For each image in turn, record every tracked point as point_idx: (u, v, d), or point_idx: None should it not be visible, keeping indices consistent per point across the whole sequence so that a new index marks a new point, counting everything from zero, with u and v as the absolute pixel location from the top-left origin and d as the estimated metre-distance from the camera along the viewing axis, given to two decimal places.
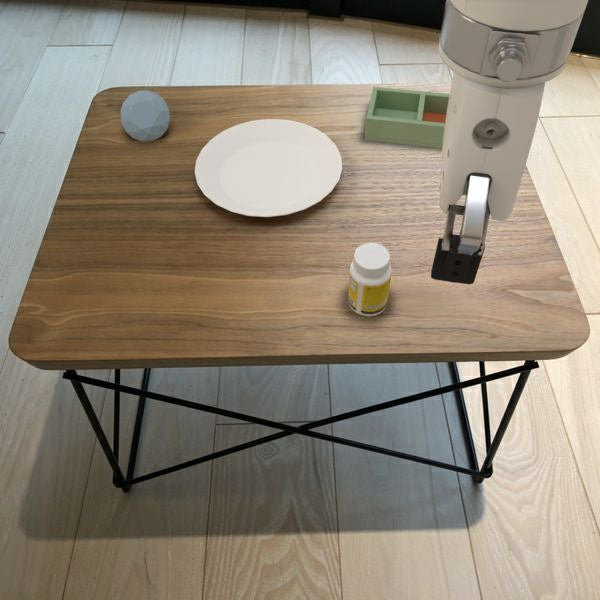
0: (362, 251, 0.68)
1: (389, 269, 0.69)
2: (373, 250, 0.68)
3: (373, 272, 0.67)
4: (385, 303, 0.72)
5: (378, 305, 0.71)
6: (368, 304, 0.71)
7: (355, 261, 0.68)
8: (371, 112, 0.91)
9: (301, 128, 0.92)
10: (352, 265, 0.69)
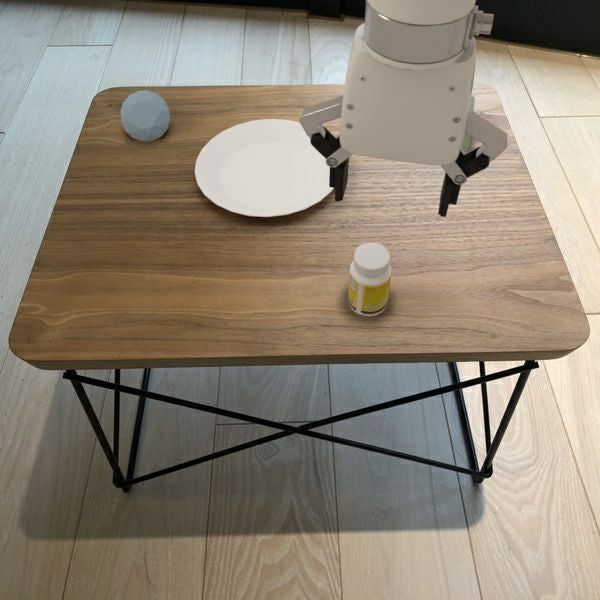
0: (362, 251, 0.68)
1: (389, 269, 0.69)
2: (373, 250, 0.68)
3: (373, 272, 0.67)
4: (385, 303, 0.72)
5: (378, 305, 0.71)
6: (368, 304, 0.71)
7: (355, 261, 0.68)
8: None
9: (301, 128, 0.92)
10: (352, 265, 0.69)
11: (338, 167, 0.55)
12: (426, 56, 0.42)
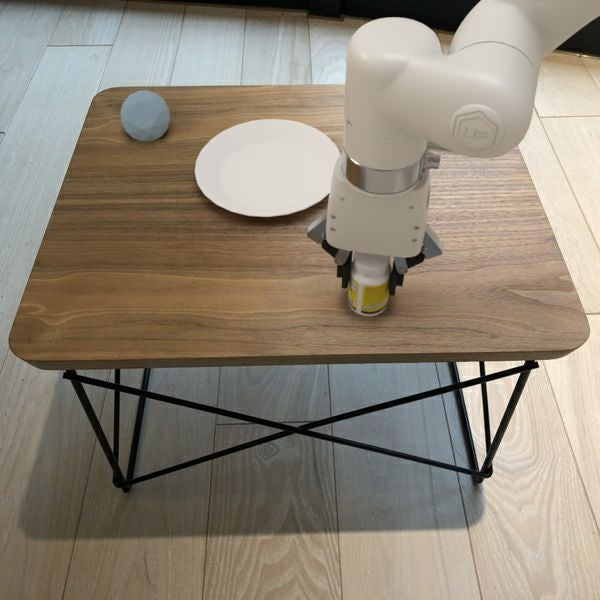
0: None
1: (389, 269, 0.69)
2: None
3: (373, 272, 0.67)
4: (385, 303, 0.72)
5: (378, 305, 0.71)
6: (368, 304, 0.71)
7: (355, 261, 0.68)
8: None
9: (301, 128, 0.92)
10: (352, 265, 0.69)
11: (344, 265, 0.68)
12: (389, 189, 0.55)
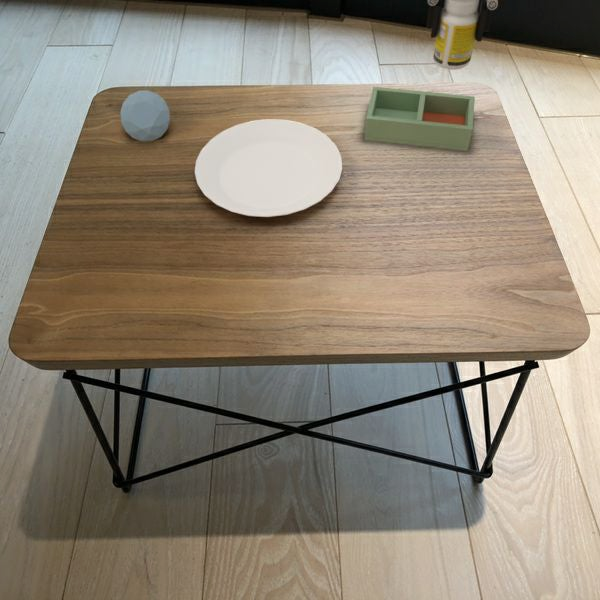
0: None
1: (477, 12, 0.74)
2: None
3: (464, 9, 0.72)
4: (470, 55, 0.78)
5: (464, 54, 0.77)
6: (456, 52, 0.76)
7: (447, 0, 0.73)
8: (371, 112, 0.91)
9: (301, 128, 0.92)
10: (442, 11, 0.75)
11: (436, 5, 0.73)
12: None
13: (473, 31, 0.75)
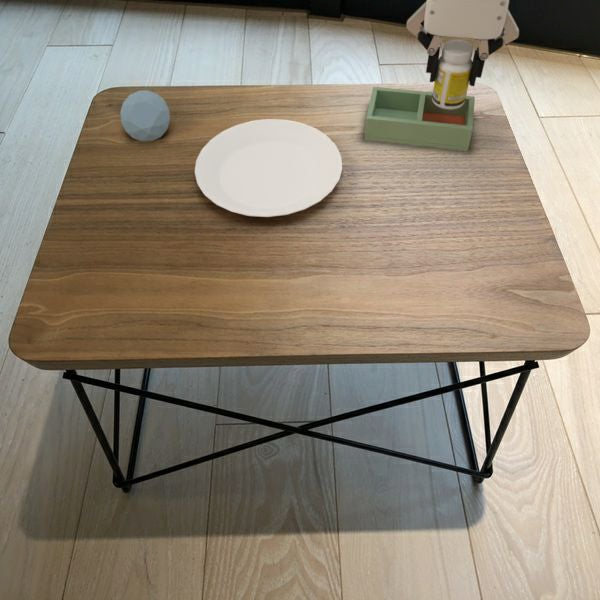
0: (449, 44, 0.83)
1: (471, 61, 0.84)
2: (458, 43, 0.83)
3: (459, 59, 0.82)
4: (464, 97, 0.87)
5: (459, 96, 0.86)
6: (452, 95, 0.86)
7: (444, 51, 0.83)
8: (371, 112, 0.91)
9: (301, 128, 0.92)
10: (440, 59, 0.84)
11: (435, 55, 0.83)
12: None
13: (467, 77, 0.84)
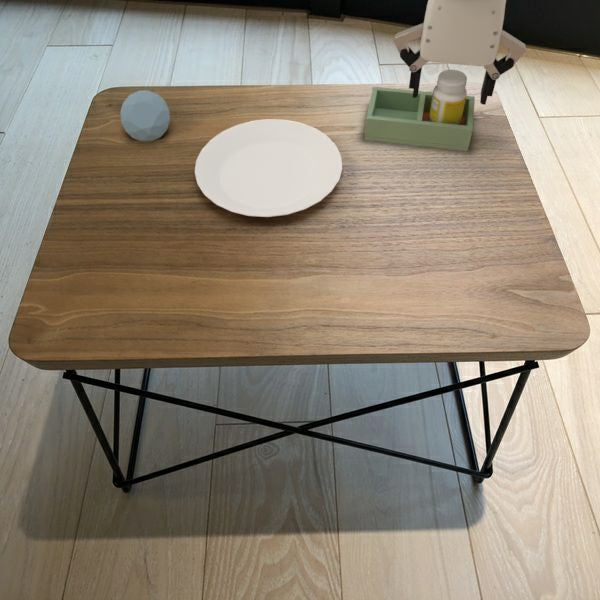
0: (444, 74, 0.87)
1: (465, 90, 0.88)
2: (453, 74, 0.87)
3: (454, 89, 0.86)
4: (459, 124, 0.91)
5: (454, 123, 0.90)
6: (447, 122, 0.90)
7: (439, 81, 0.86)
8: (371, 112, 0.91)
9: (301, 128, 0.92)
10: (435, 88, 0.88)
11: (417, 72, 0.86)
12: None
13: (461, 106, 0.88)
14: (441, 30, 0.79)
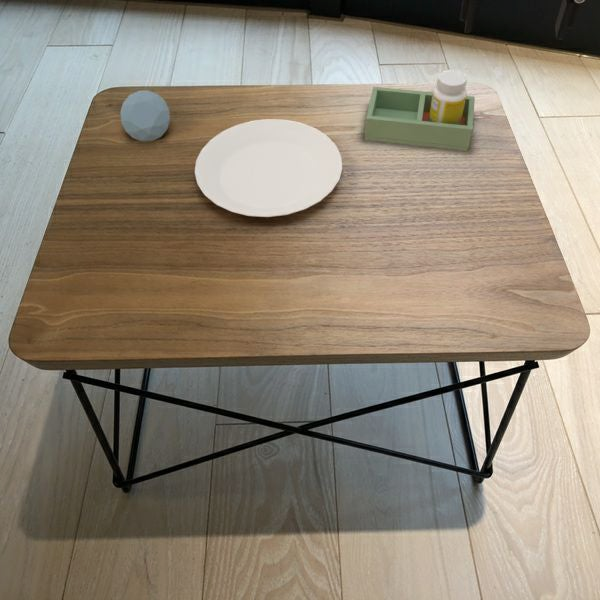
0: (444, 74, 0.87)
1: (465, 90, 0.88)
2: (453, 74, 0.87)
3: (454, 89, 0.86)
4: (459, 124, 0.91)
5: (454, 123, 0.90)
6: (447, 122, 0.90)
7: (439, 81, 0.86)
8: (371, 112, 0.91)
9: (301, 128, 0.92)
10: (435, 88, 0.88)
11: None
12: None
13: (461, 106, 0.88)
14: None
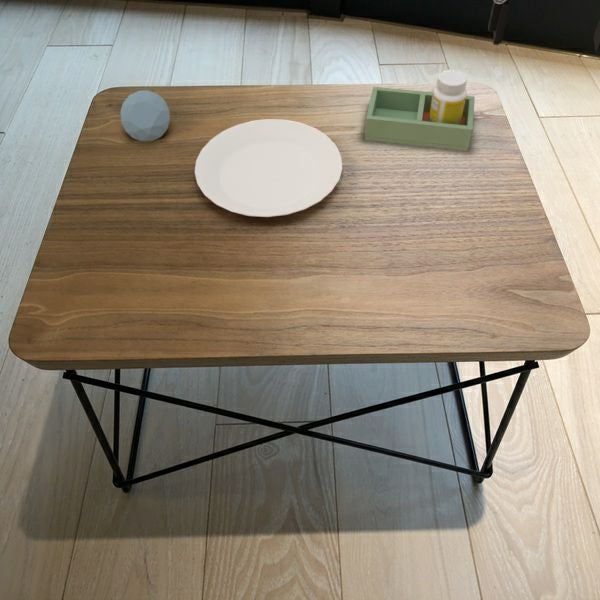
0: (444, 74, 0.87)
1: (465, 90, 0.88)
2: (453, 74, 0.87)
3: (454, 89, 0.86)
4: (459, 124, 0.91)
5: (454, 123, 0.90)
6: (447, 122, 0.90)
7: (439, 81, 0.86)
8: (371, 112, 0.91)
9: (301, 128, 0.92)
10: (435, 88, 0.88)
11: (504, 4, 0.57)
12: None
13: (461, 106, 0.88)
14: None
